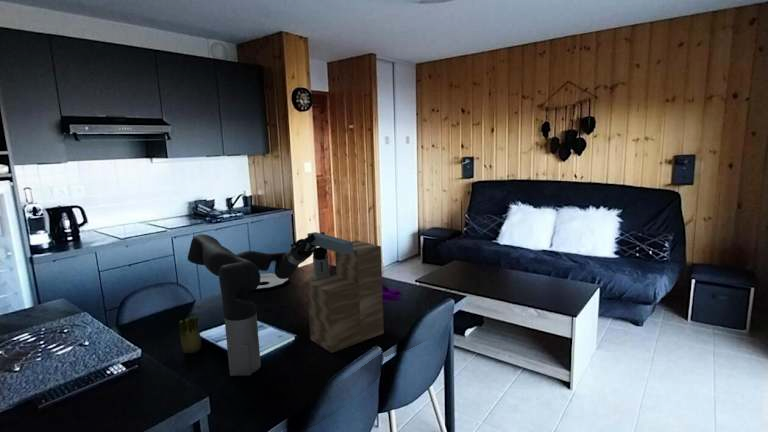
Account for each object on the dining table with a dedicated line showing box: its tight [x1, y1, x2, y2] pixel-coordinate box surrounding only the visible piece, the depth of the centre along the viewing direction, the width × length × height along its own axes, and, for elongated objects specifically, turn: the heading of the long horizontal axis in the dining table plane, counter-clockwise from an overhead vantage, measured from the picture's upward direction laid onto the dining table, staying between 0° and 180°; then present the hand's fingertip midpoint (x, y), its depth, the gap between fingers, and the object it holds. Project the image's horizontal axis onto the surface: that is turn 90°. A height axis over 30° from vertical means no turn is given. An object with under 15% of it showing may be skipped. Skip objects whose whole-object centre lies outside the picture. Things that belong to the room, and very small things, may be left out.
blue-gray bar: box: [306, 231, 353, 255], centre depth 144 cm, size 23×4×4 cm, turn 39°
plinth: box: [306, 240, 385, 354], centre depth 149 cm, size 14×22×32 cm, turn 129°
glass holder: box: [312, 246, 332, 279], centre depth 222 cm, size 9×14×15 cm, turn 40°
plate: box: [253, 273, 289, 291], centre depth 216 cm, size 25×25×2 cm
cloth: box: [382, 283, 403, 303], centre depth 191 cm, size 22×19×6 cm
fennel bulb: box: [178, 316, 202, 354], centre depth 142 cm, size 6×5×12 cm
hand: (318, 235), depth 149 cm, fingers closed on blue-gray bar, 3 cm apart
